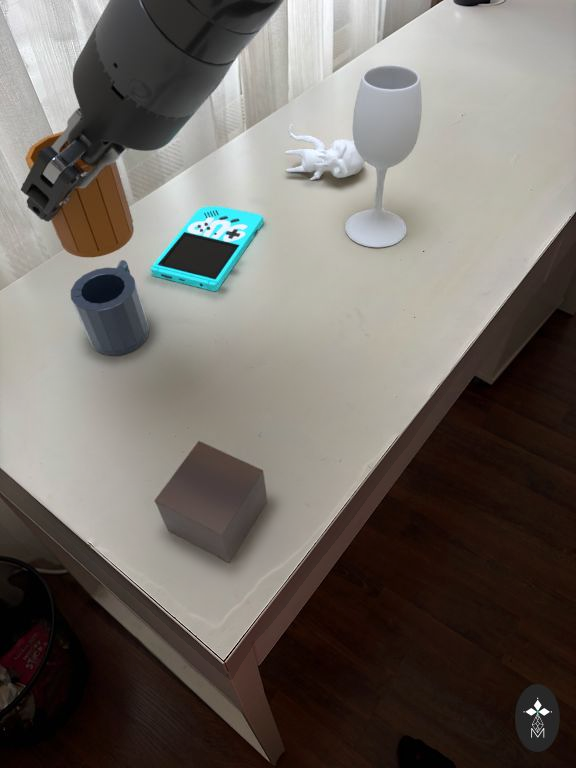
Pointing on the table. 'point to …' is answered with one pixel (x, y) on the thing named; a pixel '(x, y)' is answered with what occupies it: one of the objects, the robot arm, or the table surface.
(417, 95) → the wineglass
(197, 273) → the handheld game console
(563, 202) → the table surface
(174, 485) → the block
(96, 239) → the orange hollow slatted cylinder
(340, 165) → the figurine
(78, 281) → the mug
